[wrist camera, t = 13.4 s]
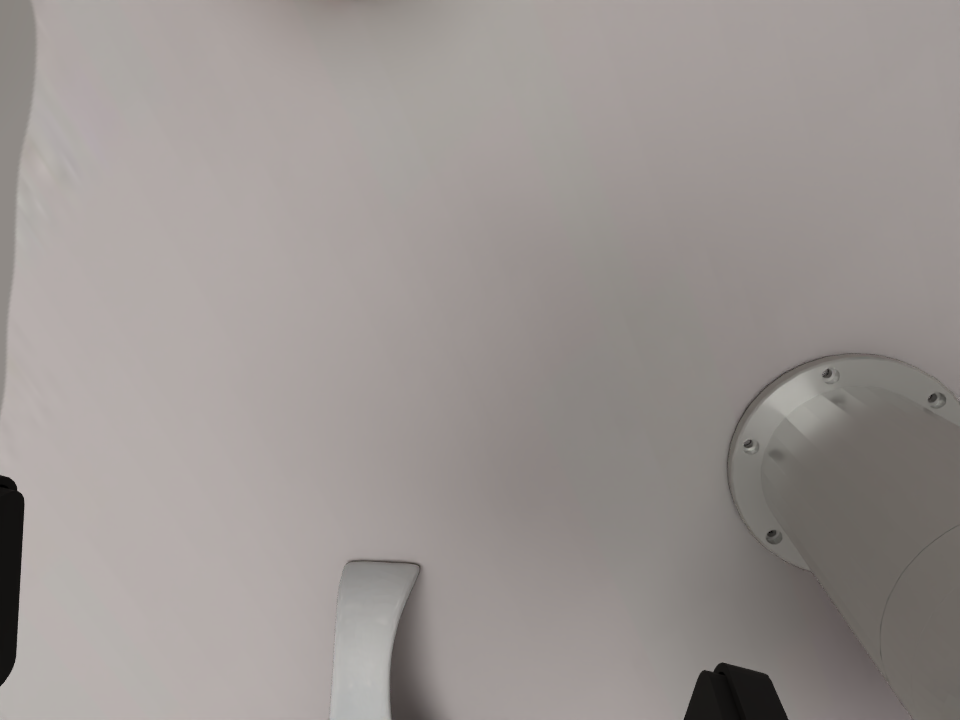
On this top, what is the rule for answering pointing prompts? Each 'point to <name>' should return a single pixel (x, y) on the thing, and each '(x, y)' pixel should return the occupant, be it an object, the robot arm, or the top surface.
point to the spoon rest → (367, 637)
